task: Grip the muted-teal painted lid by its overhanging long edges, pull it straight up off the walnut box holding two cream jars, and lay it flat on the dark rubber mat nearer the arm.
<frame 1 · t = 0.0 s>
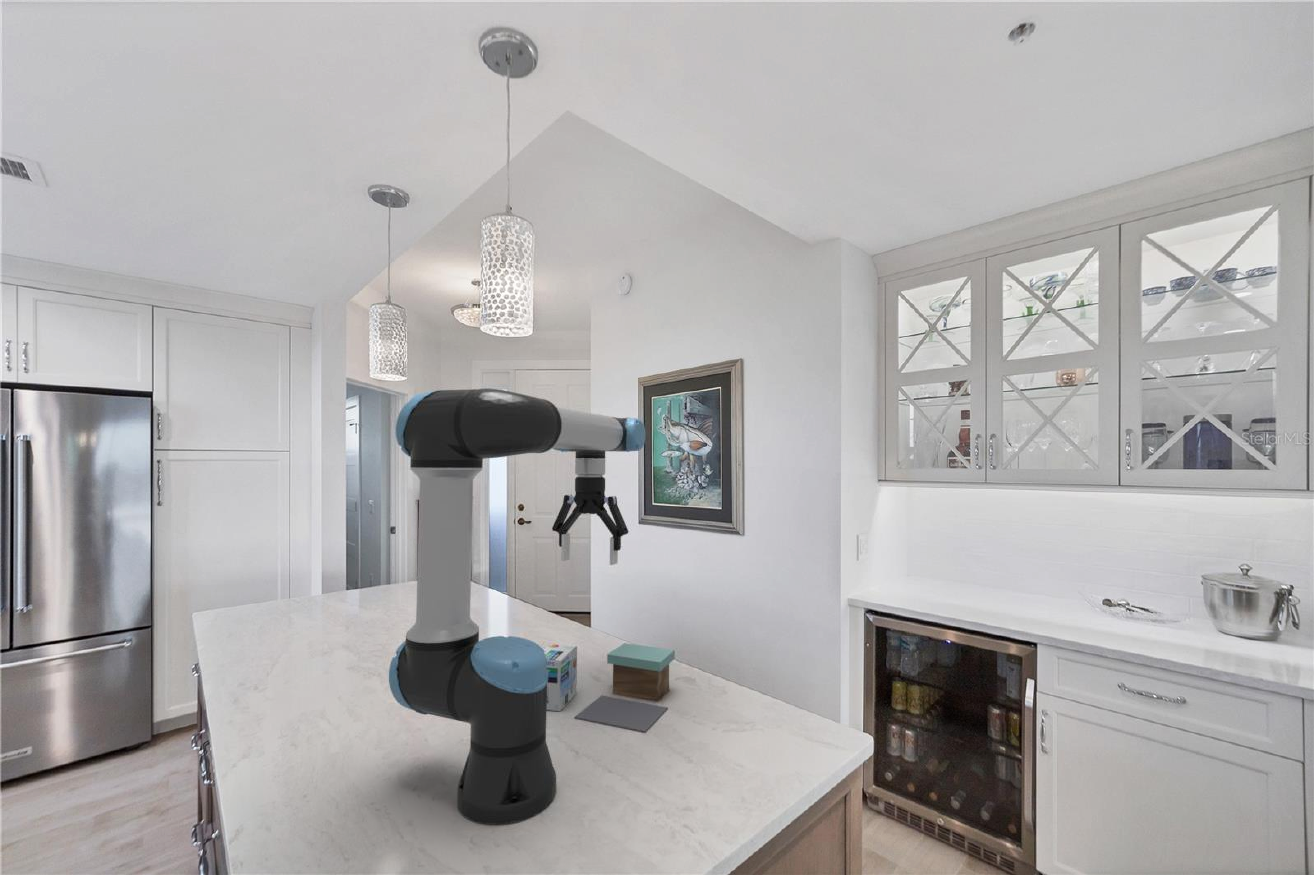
hand: (589, 562, 142), 28 cm above the counter, fingers open, 13 cm apart
box: (641, 692, 132), on the counter
mat: (622, 713, 121), on the counter
lid: (641, 665, 132), point 6 cm above the counter, touching box
light bulb box: (554, 701, 127), on the counter
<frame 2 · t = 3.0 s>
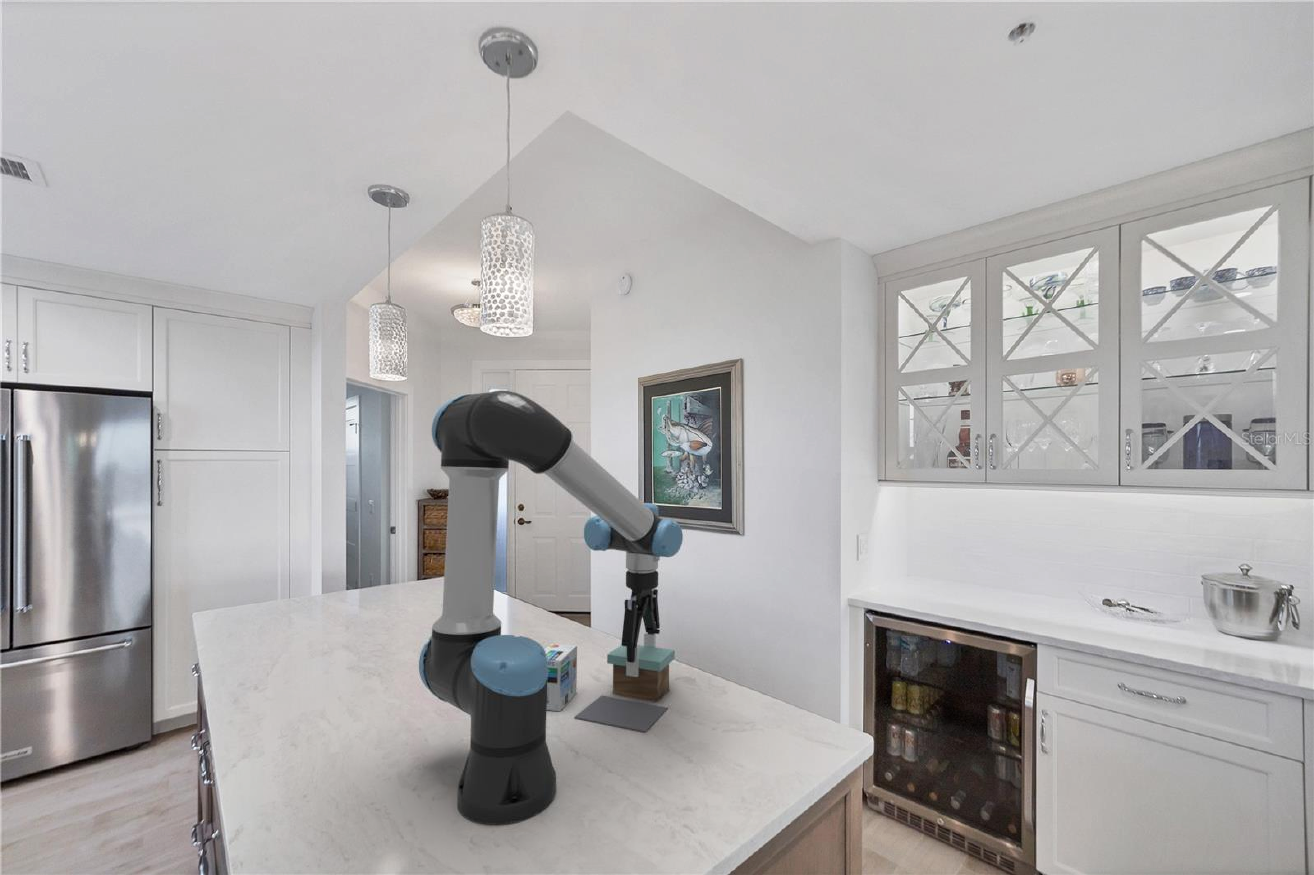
hand: (641, 668, 132), 5 cm above the counter, fingers closed on lid, 9 cm apart
lid: (641, 665, 132), point 6 cm above the counter, touching box, gripper
everything else where it was.
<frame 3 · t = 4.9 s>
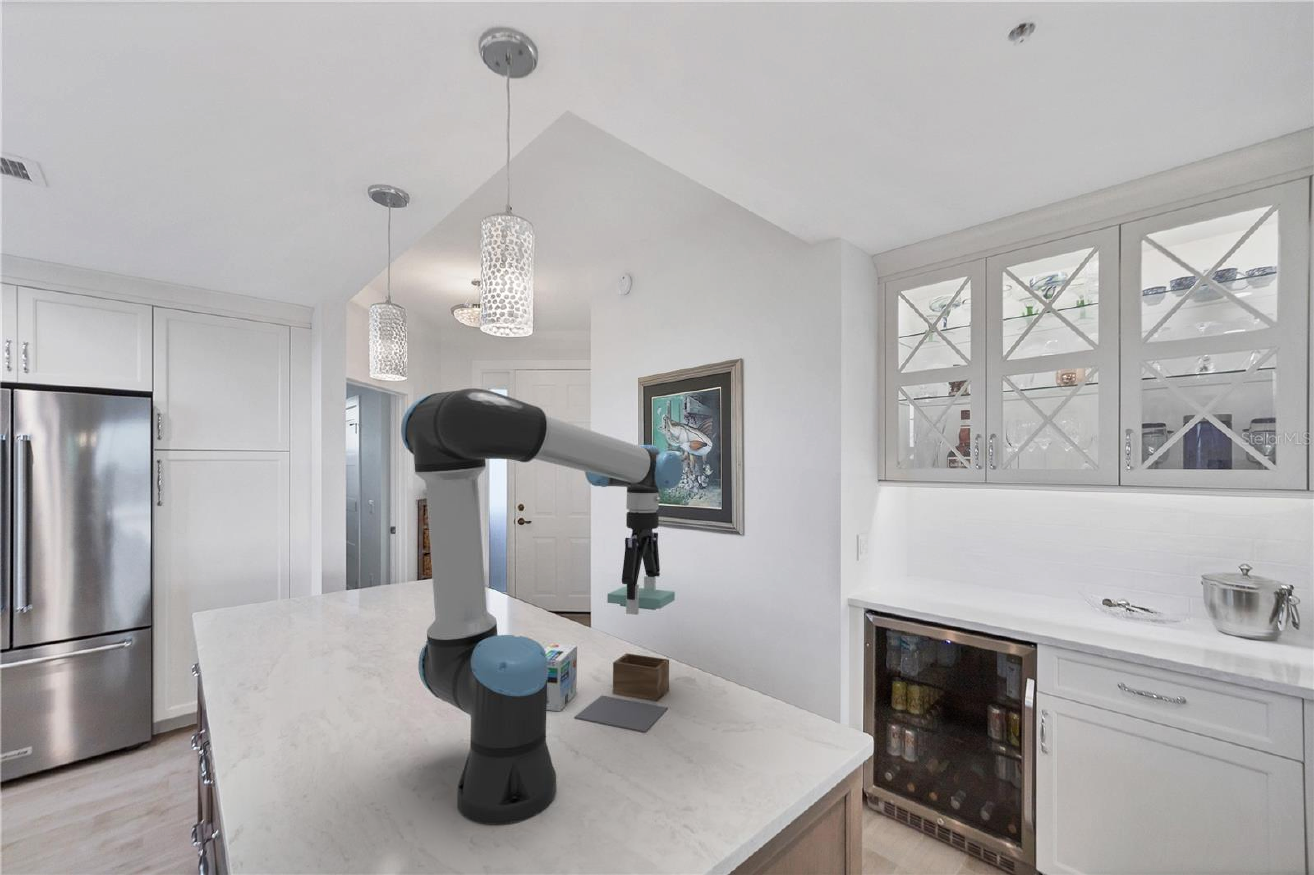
hand: (641, 608, 133), 19 cm above the counter, fingers closed on lid, 9 cm apart
lid: (641, 605, 133), point 20 cm above the counter, touching gripper
everything else where it was.
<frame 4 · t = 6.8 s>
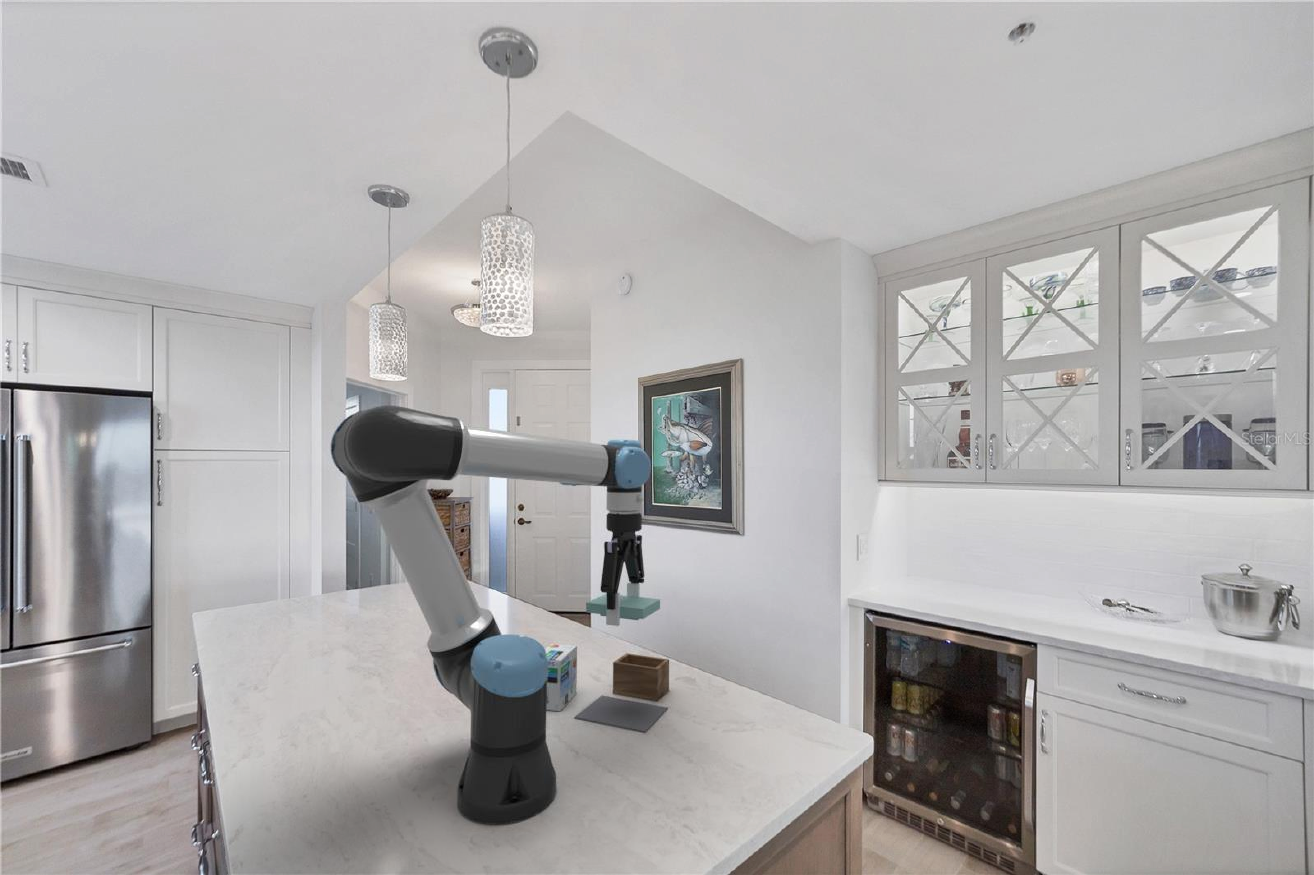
hand: (623, 618, 122), 20 cm above the counter, fingers closed on lid, 9 cm apart
lid: (623, 615, 122), point 20 cm above the counter, touching gripper
everything else where it was.
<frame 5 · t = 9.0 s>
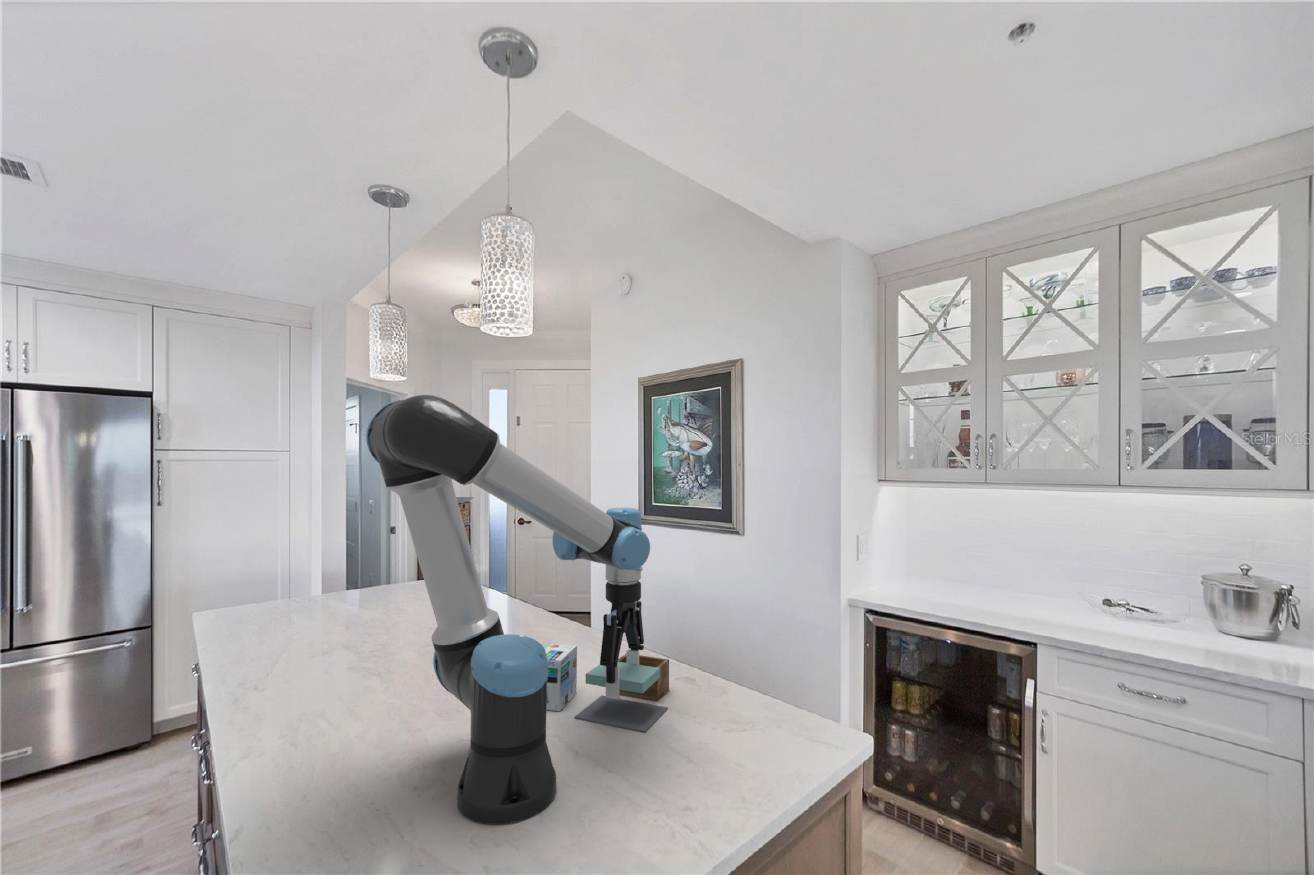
hand: (623, 689, 121), 5 cm above the counter, fingers closed on lid, 9 cm apart
lid: (623, 685, 121), point 6 cm above the counter, touching gripper
everything else where it was.
when the fingers open (1 cm above the counter, at t = 10.8 s): lid drops 2 cm, resting on mat.
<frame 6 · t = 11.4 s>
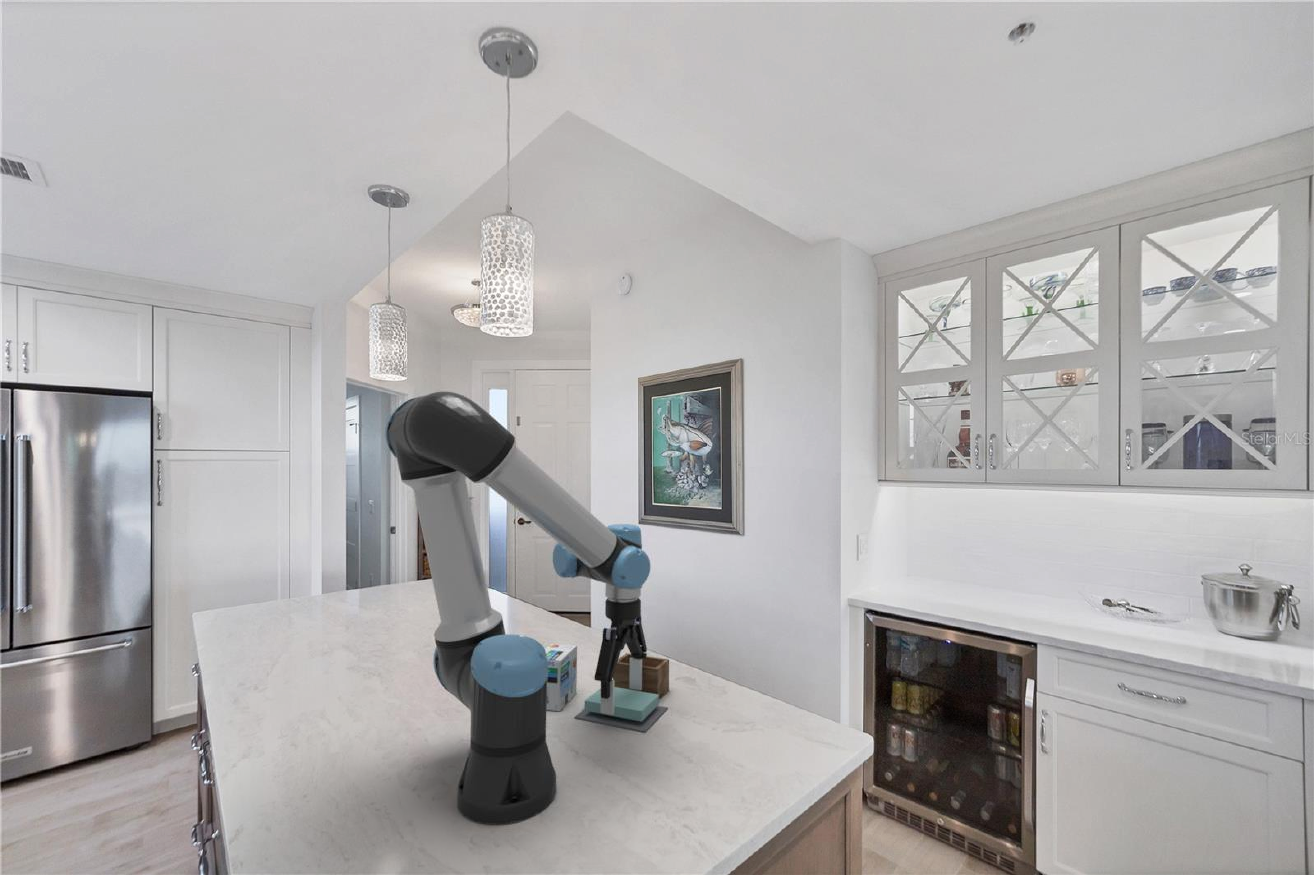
hand: (622, 700, 121), 3 cm above the counter, fingers open, 13 cm apart
lid: (622, 712, 121), resting on mat
everything else where it was.
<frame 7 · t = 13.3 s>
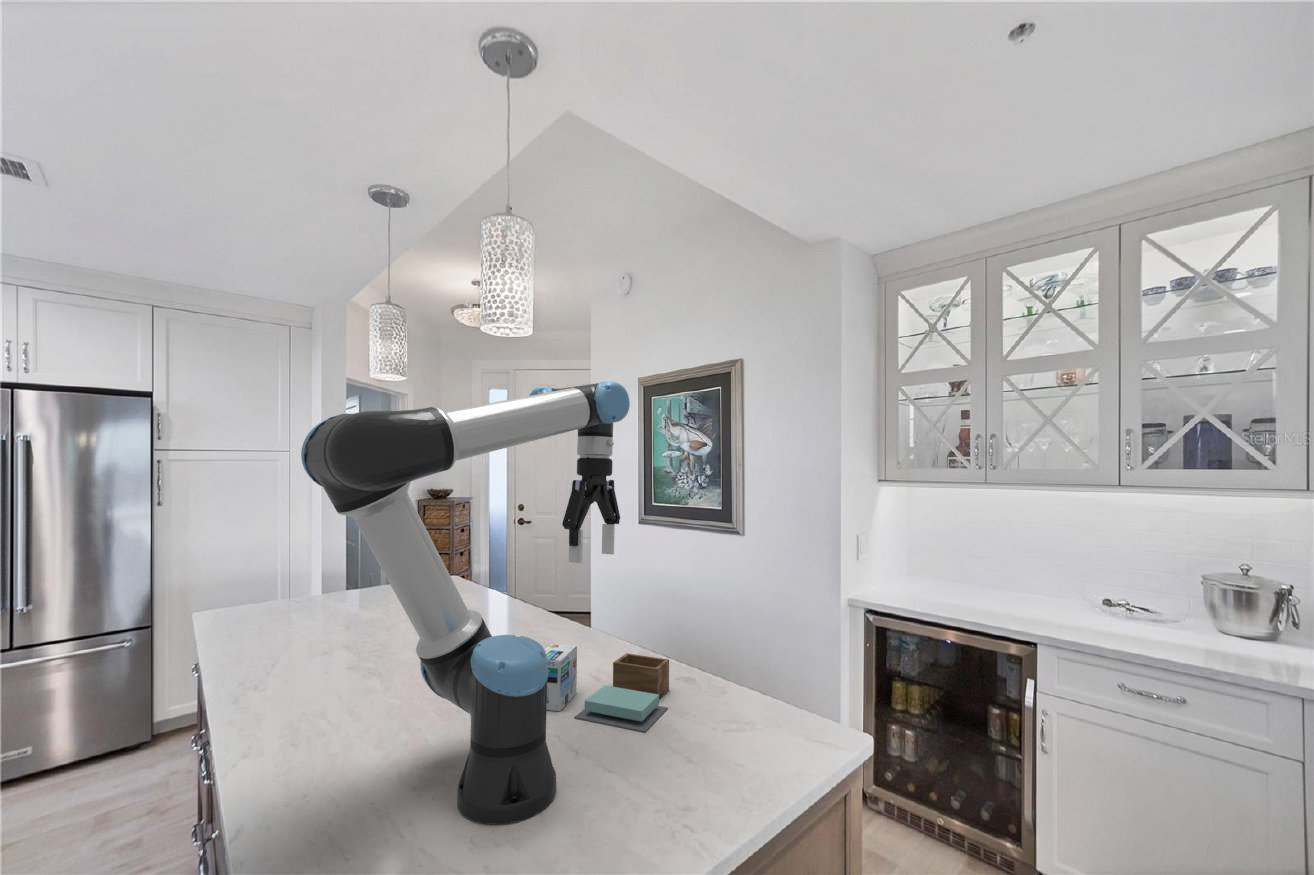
hand: (592, 558, 121), 32 cm above the counter, fingers open, 13 cm apart
nothing on the counter moved.
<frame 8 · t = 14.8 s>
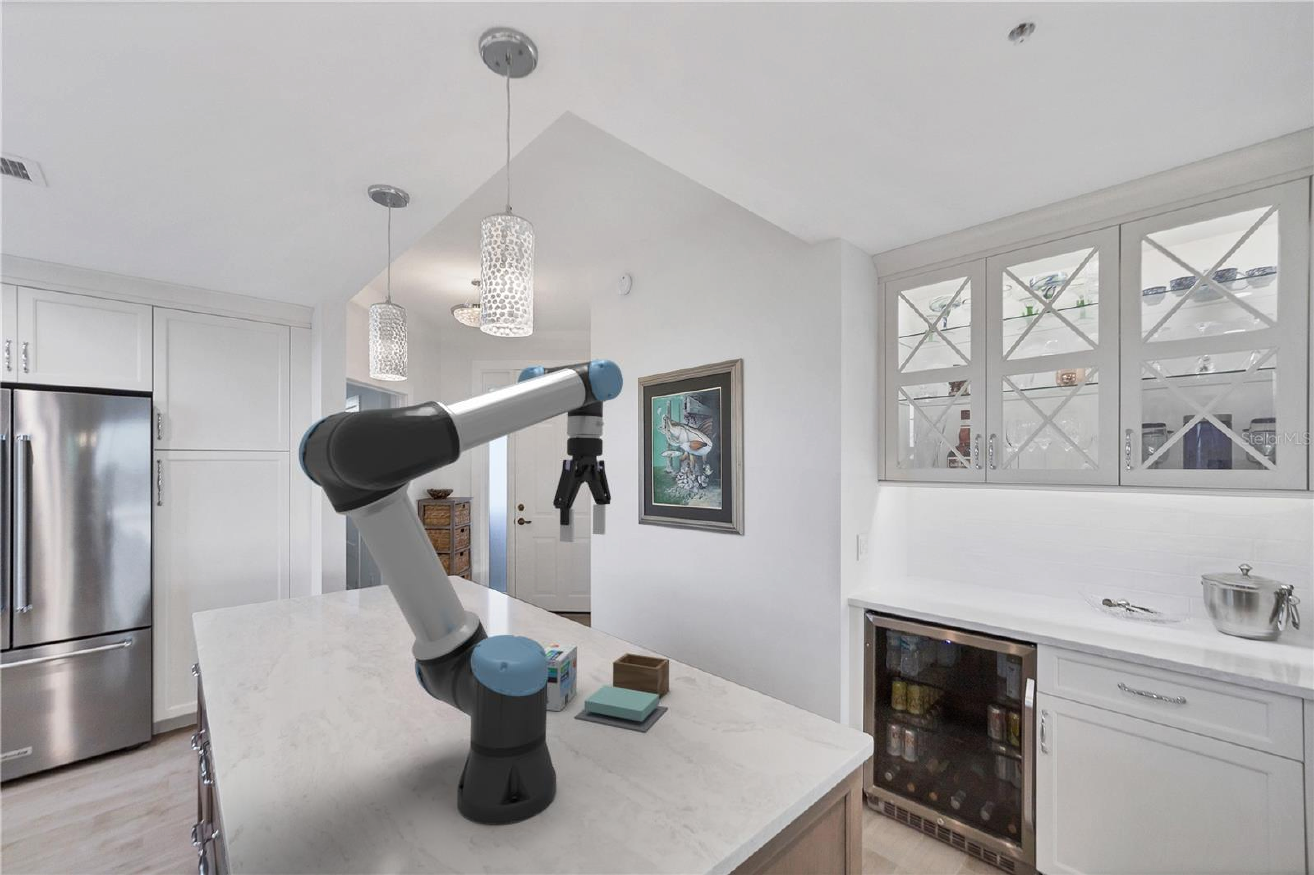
hand: (583, 537, 122), 37 cm above the counter, fingers open, 13 cm apart
nothing on the counter moved.
at the end: lid inside the target area (0.0 cm from its centre), resting on mat; lid touching mat; lid tilted 0° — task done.
